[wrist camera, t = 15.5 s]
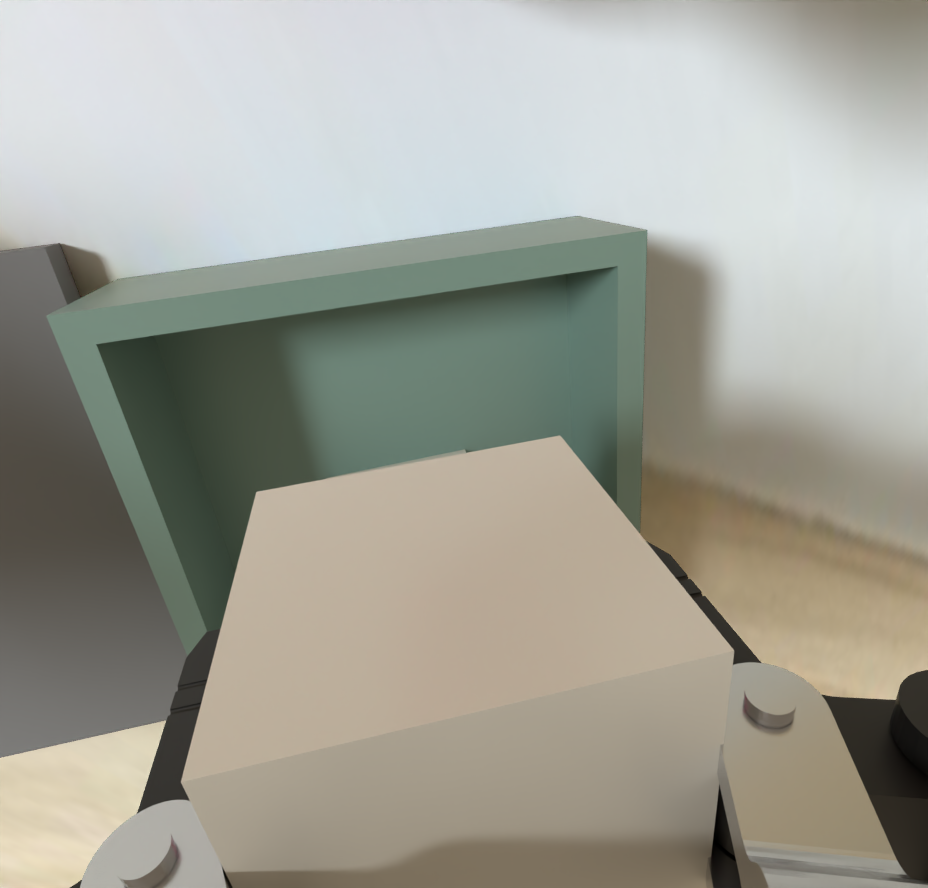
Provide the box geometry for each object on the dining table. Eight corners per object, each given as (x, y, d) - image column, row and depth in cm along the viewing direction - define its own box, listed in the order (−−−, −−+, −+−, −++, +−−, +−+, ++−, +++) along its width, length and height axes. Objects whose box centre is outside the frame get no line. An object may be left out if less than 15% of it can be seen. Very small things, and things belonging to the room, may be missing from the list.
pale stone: (324, 713, 12) (313, 1051, 7) (256, 492, 9) (180, 781, 5) (570, 656, 12) (701, 937, 8) (560, 435, 10) (734, 650, 6)
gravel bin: (245, 641, 25) (225, 747, 20) (117, 279, 18) (46, 315, 14) (586, 569, 26) (637, 651, 22) (578, 215, 20) (647, 230, 16)
